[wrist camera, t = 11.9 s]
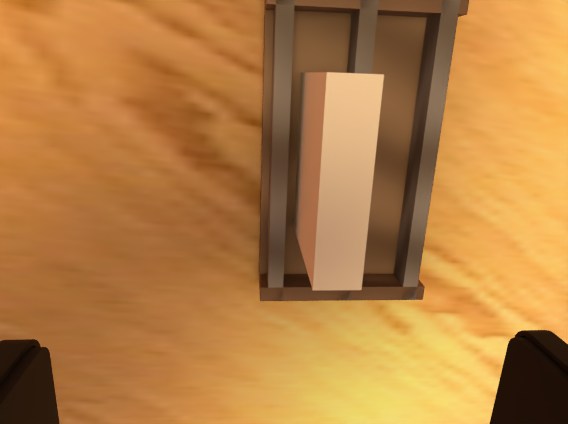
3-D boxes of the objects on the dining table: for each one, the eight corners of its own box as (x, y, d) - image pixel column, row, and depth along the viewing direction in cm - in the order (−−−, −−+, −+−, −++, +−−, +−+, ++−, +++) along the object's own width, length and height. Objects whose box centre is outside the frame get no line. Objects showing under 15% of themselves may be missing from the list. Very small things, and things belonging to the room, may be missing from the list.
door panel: (328, 226, 29) (361, 290, 21) (293, 226, 29) (312, 290, 20) (339, 73, 26) (384, 74, 18) (300, 72, 26) (326, 72, 17)
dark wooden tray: (406, 279, 32) (422, 299, 29) (259, 280, 31) (260, 300, 28) (445, 2, 26) (470, -6, 23) (265, -8, 25) (267, -17, 22)
